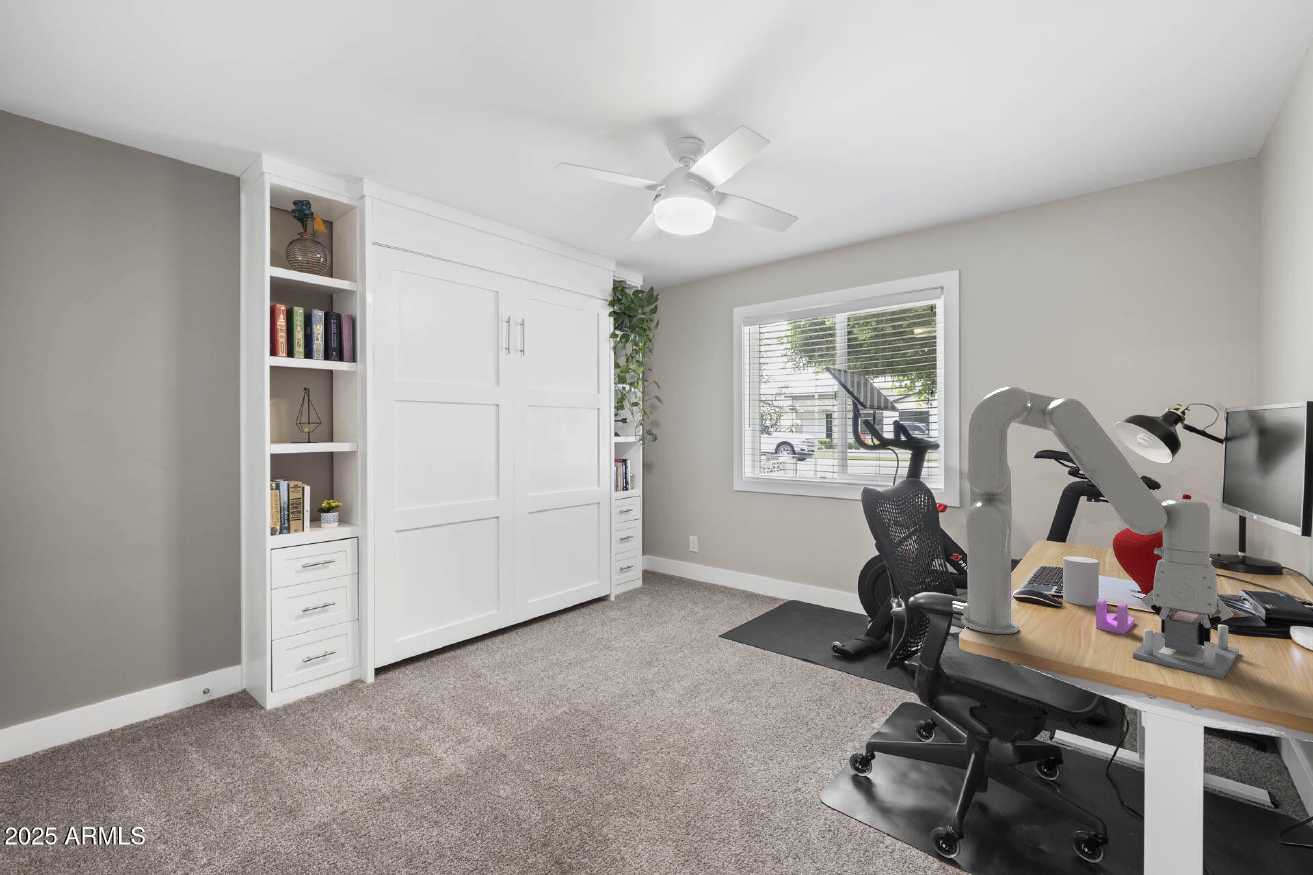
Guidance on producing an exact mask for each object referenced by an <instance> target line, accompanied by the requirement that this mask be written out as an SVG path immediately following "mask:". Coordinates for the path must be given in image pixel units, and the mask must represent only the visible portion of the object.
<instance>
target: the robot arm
mask: <svg viewBox="0 0 1313 875" xmlns="http://www.w3.org/2000/svg"><path fill="white" fill-rule="evenodd" d="M1014 423H1015V424H1018V425H1023V426H1027V427H1031V428H1035V429H1039V430H1043V431H1050V432H1052V434H1053V435H1054V436H1055V438H1056V439H1057V440H1058V442H1059V443H1060V445H1061V446H1062V447H1063V448H1064V450H1065V451H1066V453H1068V455H1069V457H1070V458H1071V459H1072V460H1073V461H1074V463H1075V464H1076V466H1077V467H1078V468H1079V470H1081V472H1082V473H1083V475H1084V476H1085V477H1086V478H1087V479H1088V480H1090V482H1092V483H1093V484H1094V486H1096V488H1097V489H1098V490H1099V492H1100V493H1101V494H1102V496H1104V498H1106V500H1107V501H1108V503H1109V504H1110V506H1111V507H1112V508H1113V510H1114V511H1115V512H1116V513H1117V517H1118V519H1119V520H1120V522H1122V524H1123V525H1125V526H1126V528H1129V529H1130V530H1132V531H1133V532H1136V533H1138V534H1143V535H1151V534H1155V533H1158V532H1160V531H1161V530H1163V547H1161V548H1154V554H1159V555H1161V557H1162V559H1161V560H1158V562H1157V565H1156V570H1155V578H1154V589H1153V590H1152V591H1151V592H1150V593H1148V594H1147V595H1146V596H1144V597H1143V598H1142V599H1141V601H1142V602H1143V603H1144V604H1145V605H1146V606H1148V607H1149V608H1150V609H1151V610H1152V611H1153V612H1154V614H1156V615H1157V616H1158V617H1159V619H1160V633H1161V632H1162V633H1165V619H1166V618H1167V617H1168V616H1169V615H1170V614H1171V613H1172V610H1181V611H1186V612H1192V613H1198V614H1199V616H1200V618H1201V621H1202V626H1201V627H1200V645H1201V646H1204V642H1212V641H1211V640H1212V638H1211V637H1212V635H1211V633H1212V632H1211V631H1212V630H1211V629H1212V628H1211V627H1213V626H1215V625H1218V624H1219V623H1221V622H1223V621H1225V620H1228V619H1231V618H1232V617H1233V616H1234V612H1233V611H1232V610H1231V609H1230V608H1229V607H1228V606H1227V605H1226V604H1225V603H1224V601H1223V600H1221V598H1220V596H1219V588H1218V587H1219V586H1218V580H1217V579H1218V578H1217V573H1216V571H1215V570H1216V569H1215V566H1214V565H1212V564H1210V562H1211V557H1210V556H1211V555H1210V554H1211V553H1210V552H1211V550H1210V549H1211V547H1210V546H1211V544H1210V543H1211V542H1210V540H1211V539H1210V536H1211V534H1210V533H1211V531H1210V530H1211V528H1210V527H1211V524H1210V523H1211V521H1210V519H1211V518H1210V517H1211V510H1210V506H1209V504H1208V503H1207V502H1204V501H1201V500H1197V499H1190V500H1188V499H1182V498H1172V499H1164V498H1157V497H1156V496H1155V495H1154V493H1153V492H1152V491H1151V490H1150V488H1149V487H1148V486H1147V484H1146V483H1145V482H1144V481H1143V480H1142V479H1141V477H1140V476H1139V475H1138V473H1137V472H1136V470H1135V469H1134V468H1133V467H1132V465H1130V462H1129V461H1128V460H1127V458H1126V457H1125V455H1124V454H1123V453H1122V451H1121V450H1120V449H1119V447H1118V446H1117V445H1116V444H1115V443H1114V441H1113V440H1112V439H1111V437H1110V436H1109V435H1108V433H1107V431H1105V429H1104V428H1103V427H1102V426H1101V424H1100V423H1099V422H1098V421H1097V419H1096V418H1095V417H1094V415H1093V414H1092V413H1091V411H1090V410H1089V409H1088V408H1087V407H1086V406H1085V404H1084V403H1083V402H1081V401H1080V400H1078V399H1075V398H1069V397H1063V398H1061V397H1055V396H1050V395H1044V394H1041V393H1040V394H1039V393H1034V392H1030V391H1026V390H1024V389H1023V388H1020V387H1018V386H1007V387H1002V388H1000V389H997V390H995V391H993V392H992V393H990V394H987V396H985V397H984V398H983V399H981V400H980V402H979V403H978V404H977V405H976V407H975V408H974V409H973V412H972V413H971V416H970V418H969V423H968V444H967V463H968V464H967V474H966V476H967V482H968V483H969V506H970V508H969V509H968V512H967V514H966V524H965V527H966V528H965V530H966V547H967V548H966V549H967V550H966V551H967V552H966V554H967V557H966V558H967V560H966V561H967V562H966V563H967V602H966V603H962V602H958V601H952V604H951V606H952V610H953V611H955V612H959V613H962V614H963V615H962V616H961V617H960V623H961V624H962V625H963V626H965V627H966V628H968V626H970V627H969V629H971V630H974V631H978V632H982V633H985V634H986V633H988V634H996V635H1008V634H1009V635H1010V634H1011V635H1012V634H1016V633H1017V632H1018V631H1019V630H1020V627H1019V626H1020V625H1019V623H1017V621H1015V620H1012V520H1013V519H1012V518H1013V514H1012V513H1013V511H1012V510H1013V509H1012V473H1011V472H1012V471H1011V468H1010V466H1009V464H1008V430H1009V427H1010V426H1011V424H1014ZM1218 610H1219V611H1220V613H1219V614H1216V612H1217V611H1218ZM1213 614H1215V615H1213ZM1212 615H1213V616H1212Z"/></svg>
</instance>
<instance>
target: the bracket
mask: <svg viewBox="0 0 1313 875" xmlns="http://www.w3.org/2000/svg"><path fill="white" fill-rule="evenodd" d="M1107 609H1108V605H1107V600H1106V599H1100V598H1099V599H1098V600H1097V602H1096V606H1095V629H1098V630H1103V631H1108V632H1113V633H1118V634H1122V635H1125V634H1126V633H1127V632H1128V631H1129V630H1130V629H1131V628H1132V627H1133V626H1134V625H1135V618H1134V617H1132V616H1130V615H1129V606H1128V604H1127V603H1123V602H1118V604H1117V608H1116V613H1113V612H1111V613H1108V612H1107V611H1108V610H1107Z"/></svg>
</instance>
